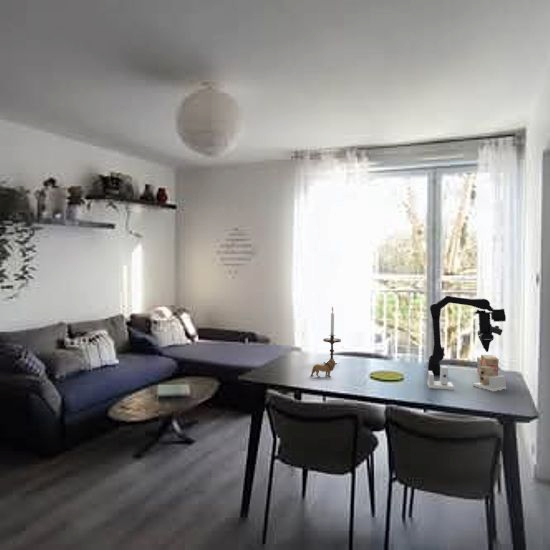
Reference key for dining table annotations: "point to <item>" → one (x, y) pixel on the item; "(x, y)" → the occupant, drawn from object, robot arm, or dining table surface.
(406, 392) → the dining table surface
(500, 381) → the white l-shaped holder
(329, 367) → the lion figurine
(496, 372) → the stack of blocks
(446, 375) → the one dot key
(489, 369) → the two dot key
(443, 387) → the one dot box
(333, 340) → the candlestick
